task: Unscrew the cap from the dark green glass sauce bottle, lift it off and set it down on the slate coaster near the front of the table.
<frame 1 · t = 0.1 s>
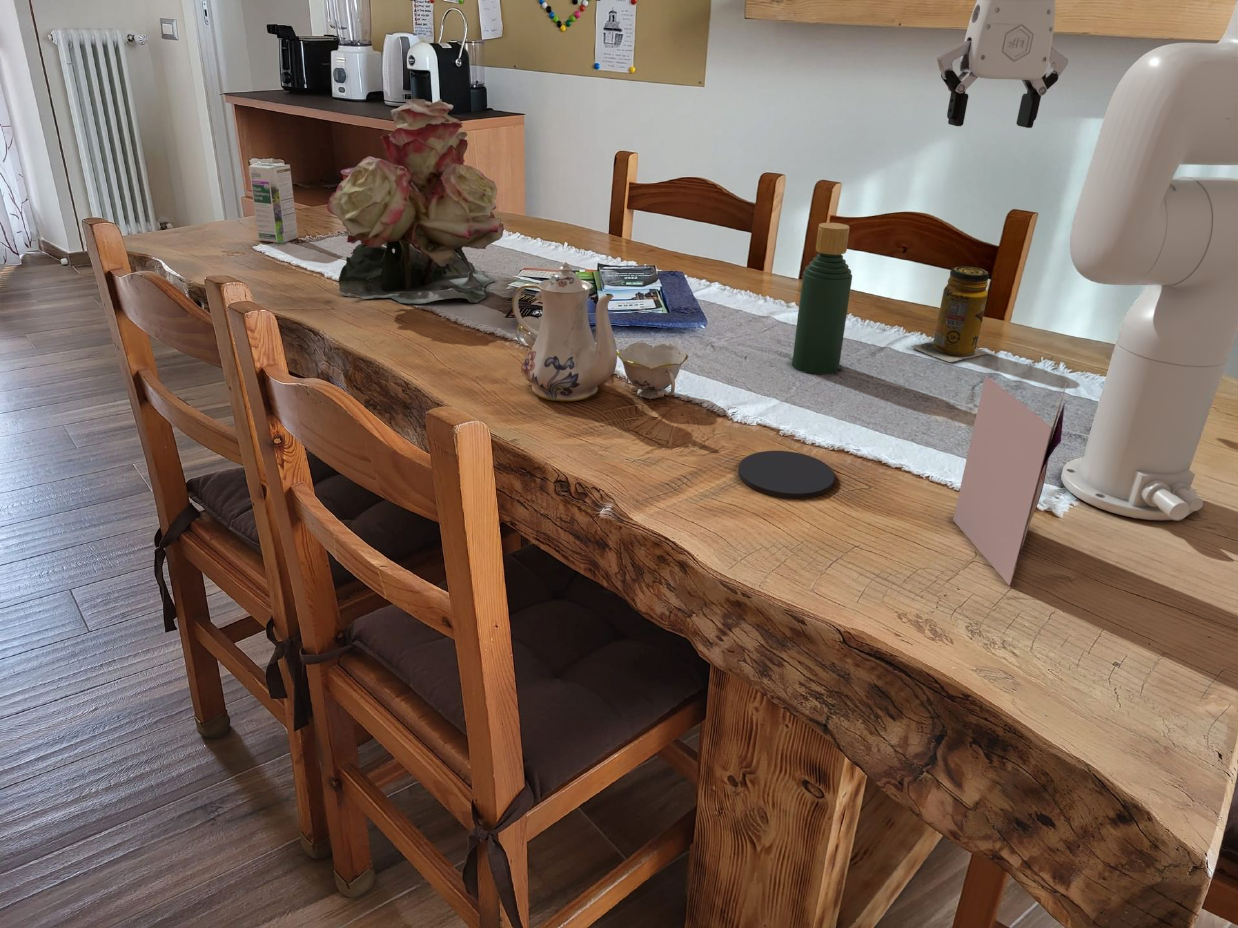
hand: (989, 126, 121), 31 cm above the table, tool pointing down, fingers open, 9 cm apart
condiment: (948, 352, 135), on the table
chinaware: (580, 384, 118), on the table
rose bouquet: (430, 287, 157), on the table
coaster: (785, 476, 96), on the table
bottle: (815, 366, 127), on the table
syrup box: (278, 240, 184), on the table
greeting card: (986, 549, 84), on the table
cap: (833, 228, 118), point 19 cm above the table, screwed on, not yet turned
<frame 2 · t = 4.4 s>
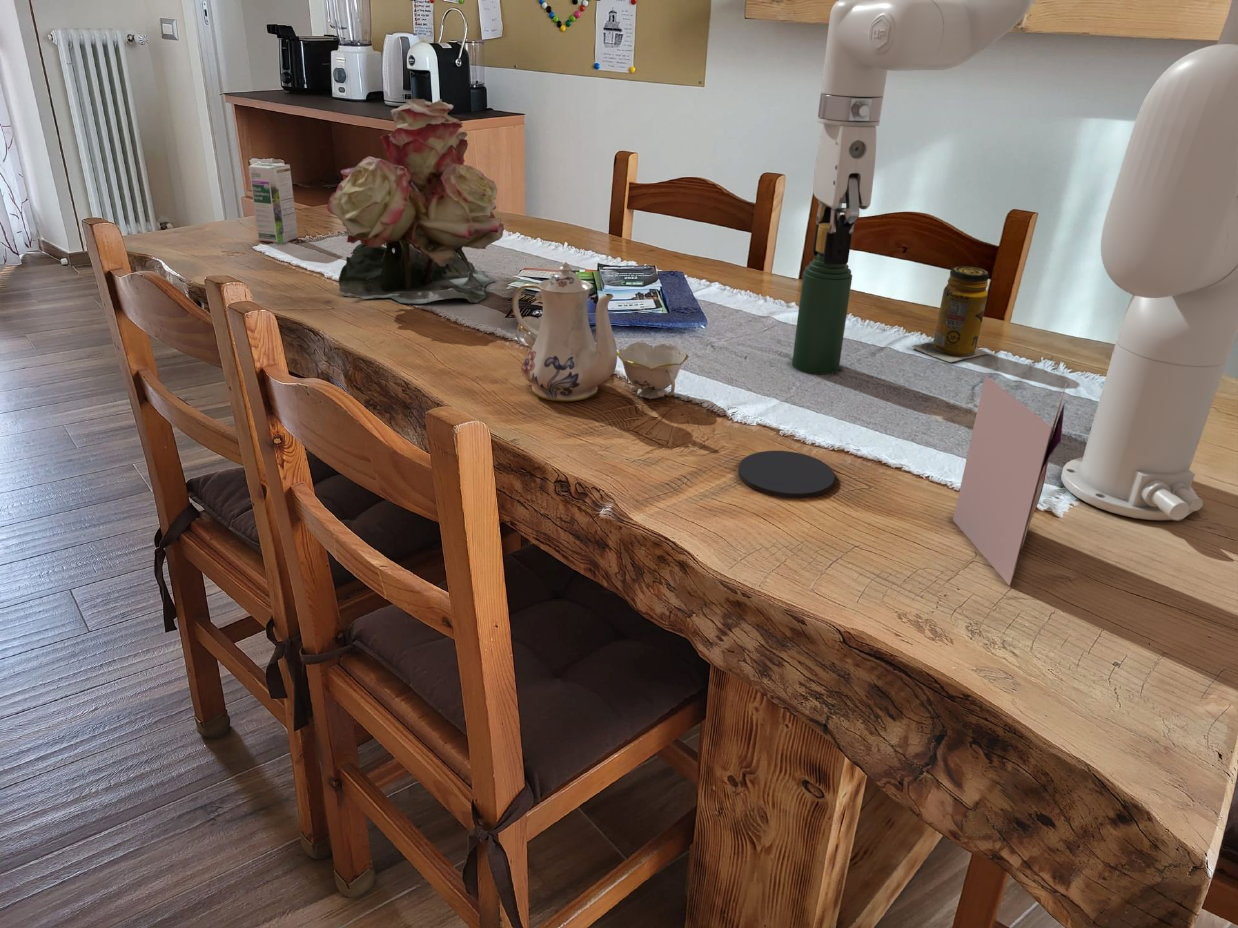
hand: (829, 258, 120), 15 cm above the table, tool pointing down, fingers closed on cap, 3 cm apart
cap: (833, 228, 118), point 19 cm above the table, screwed on, not yet turned, touching gripper
everything else where it was.
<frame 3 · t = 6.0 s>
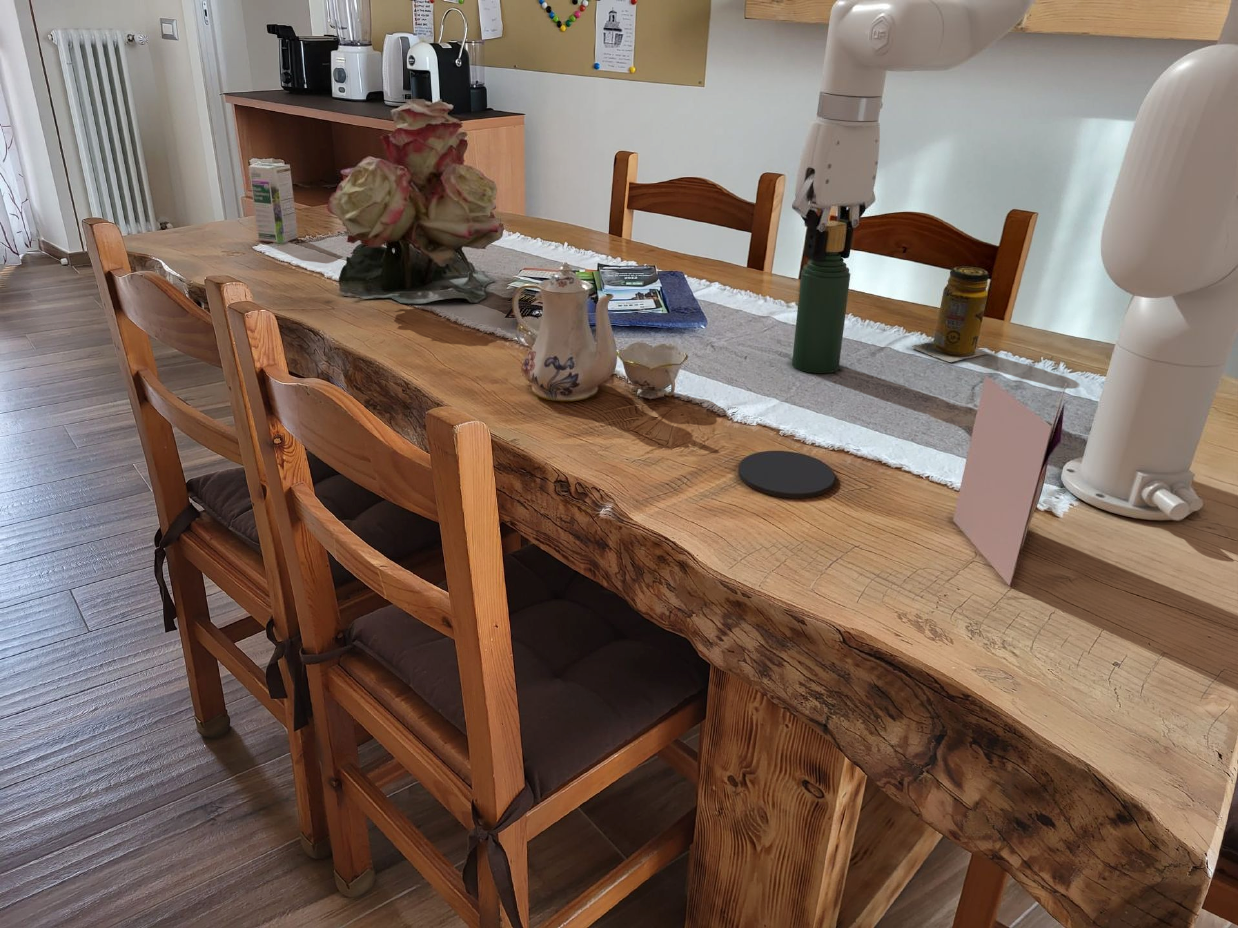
hand: (826, 256, 121), 15 cm above the table, tool pointing down, fingers closed on cap, 3 cm apart
bottle: (815, 365, 127), on the table, touching gripper
cap: (831, 225, 119), point 19 cm above the table, turned 117° so far, risen 0.1 cm, still on its thread, touching gripper
everything else where it was.
when the fingers open (15 cm above the table, at t = 9.1 s): cap stays where it is, point 19 cm above the table.
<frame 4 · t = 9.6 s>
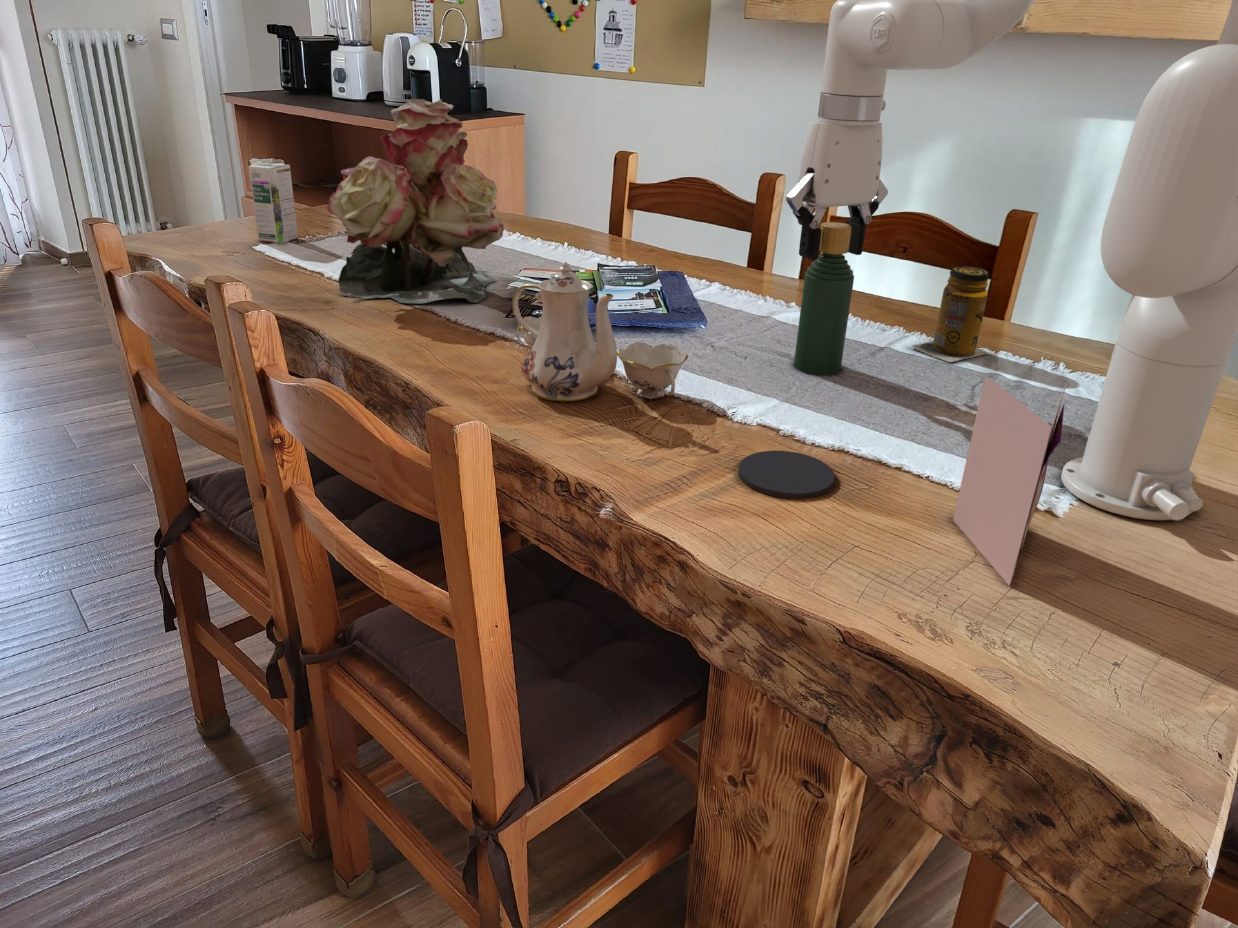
hand: (830, 254, 120), 16 cm above the table, tool pointing down, fingers open, 6 cm apart
bottle: (817, 366, 127), on the table
cap: (835, 227, 118), point 19 cm above the table, turned 117° so far, risen 0.1 cm, still on its thread
everything else where it was.
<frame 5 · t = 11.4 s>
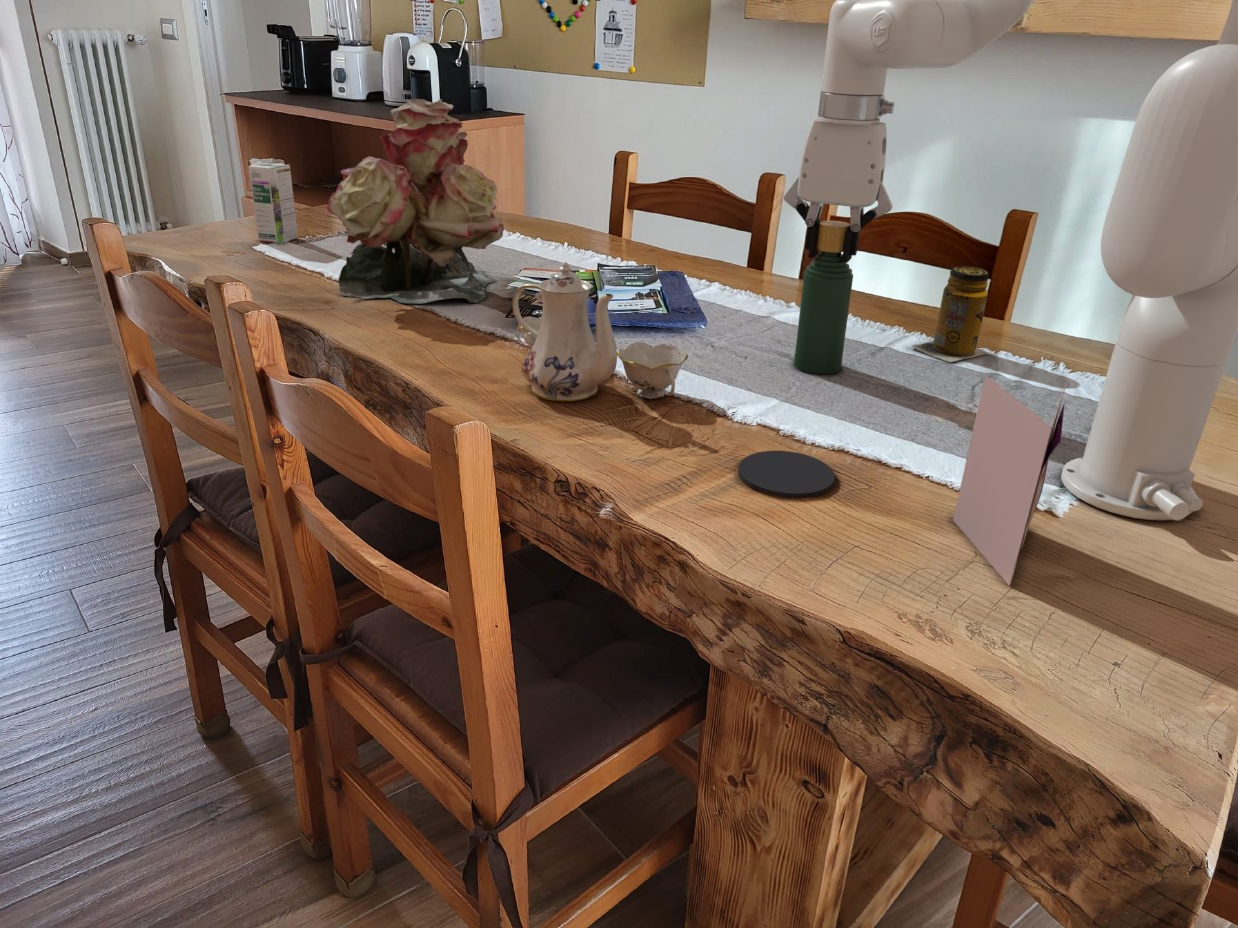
hand: (830, 256, 120), 15 cm above the table, tool pointing down, fingers closed on cap, 3 cm apart
cap: (834, 226, 118), point 19 cm above the table, turned 177° so far, risen 0.2 cm, still on its thread, touching gripper
everything else where it was.
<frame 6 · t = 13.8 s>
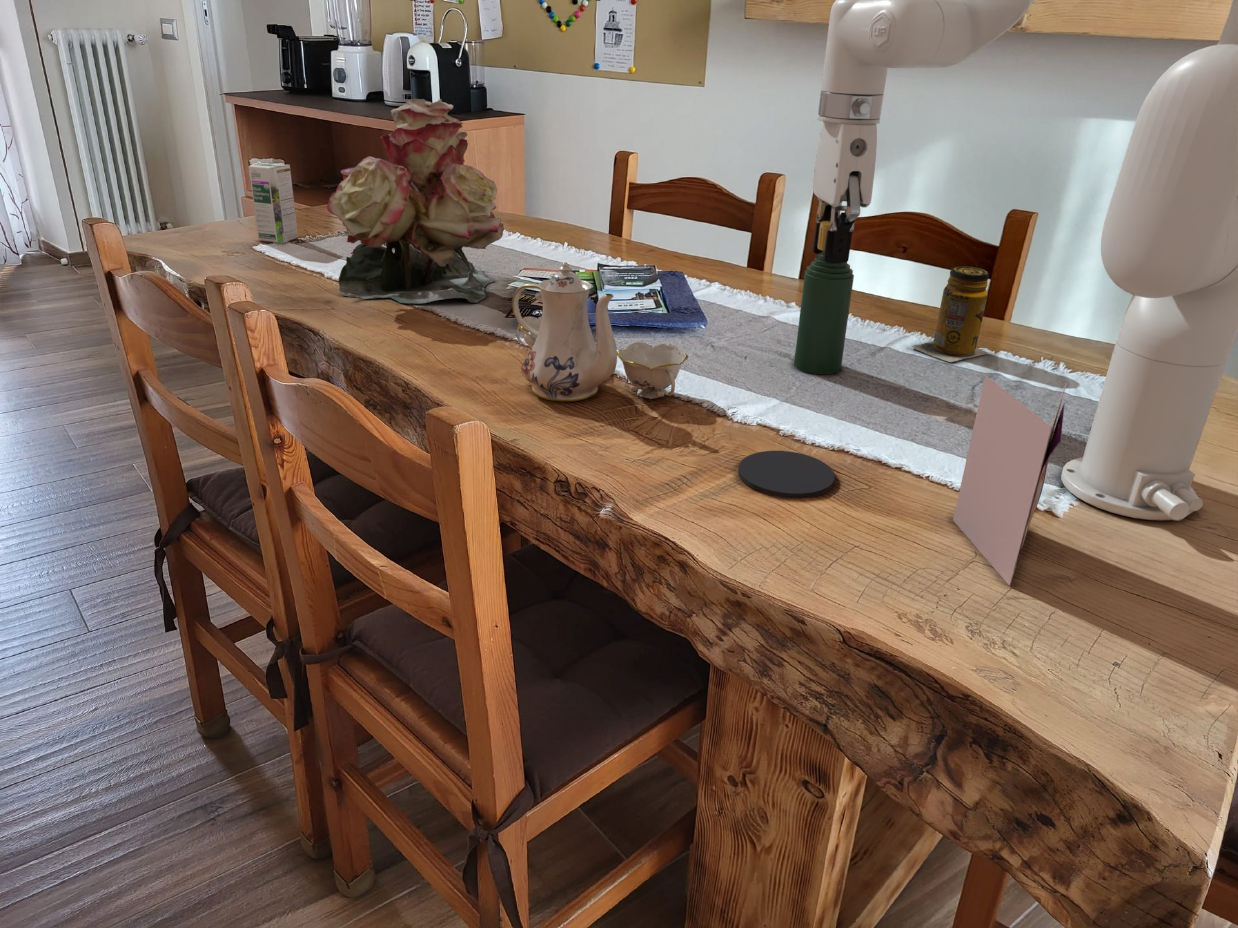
hand: (830, 256, 120), 15 cm above the table, tool pointing down, fingers closed on cap, 3 cm apart
cap: (835, 225, 118), point 19 cm above the table, turned 235° so far, risen 0.2 cm, still on its thread, touching gripper
everything else where it was.
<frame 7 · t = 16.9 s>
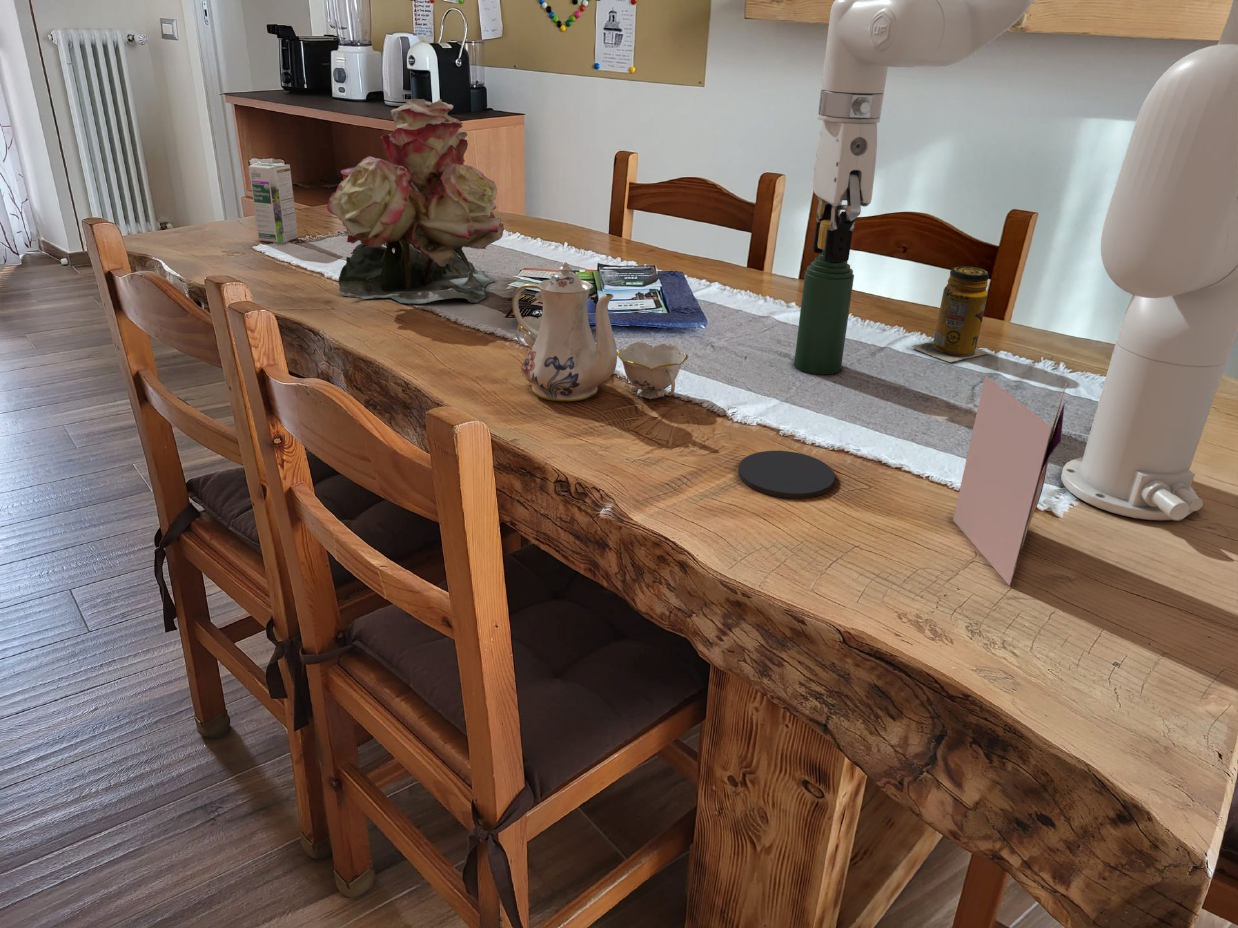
hand: (830, 255, 120), 15 cm above the table, tool pointing down, fingers closed on cap, 3 cm apart
cap: (835, 225, 118), point 19 cm above the table, turned 353° so far, risen 0.4 cm, still on its thread, touching gripper
everything else where it was.
when the fingers open (1 cm above the table, at t = 27.6 s): cap drops 2 cm, resting on coaster.
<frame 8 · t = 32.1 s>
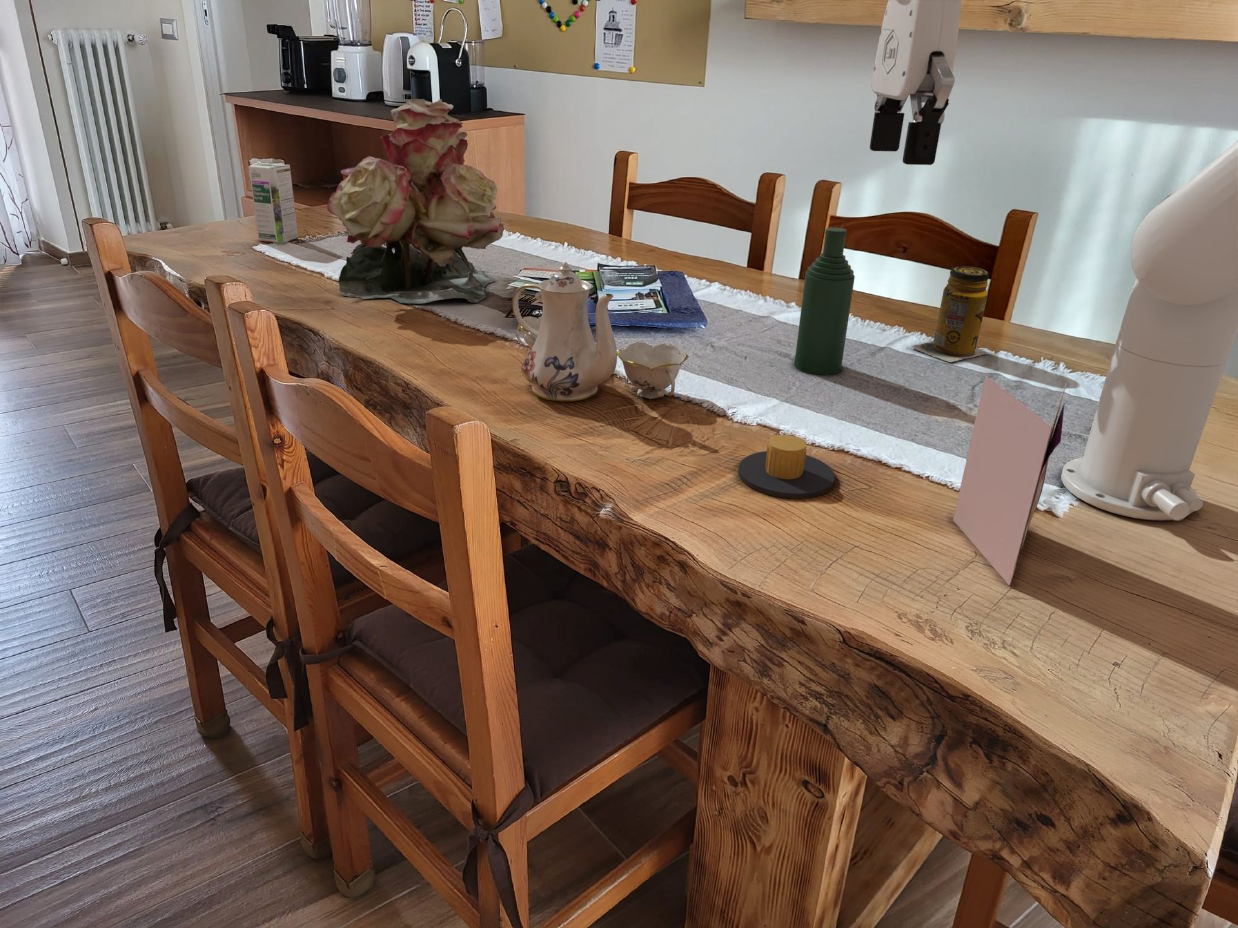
hand: (900, 157, 97), 30 cm above the table, tool pointing down, fingers open, 9 cm apart
cap: (787, 445, 95), point 4 cm above the table, off its thread, touching coaster
everything else where it was.
at the end: cap came off its thread; cap 0.3 cm from the coaster (horizontally); cap point 3.6 cm above the table; the gripper is holding nothing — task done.
